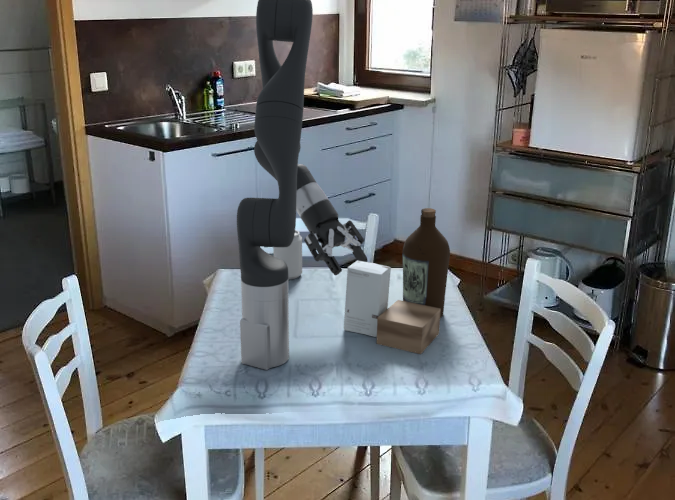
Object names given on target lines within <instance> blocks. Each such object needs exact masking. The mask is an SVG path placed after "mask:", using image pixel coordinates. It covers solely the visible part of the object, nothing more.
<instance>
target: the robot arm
mask: <svg viewBox="0 0 675 500" xmlns="http://www.w3.org/2000/svg"><path fill="white" fill-rule="evenodd" d="M255 12H256V14H255V17H256V18H255V19H256V20H255V25H256V27H255V28H256V38H257V49H258V59H259V60H258V61H259V66H260V74H261V75H260V76H261V82H262V83H261V84H262V89H261V91H260V93H259V94H258V96H257V98H256V99H257V100H256V103H255V104H256V105H255V115H254V124H253V125H254V127H253V129H254V130H253V131H254V135H255V139H256V142H255V143H254V147H253V153H254V156H255V159H256V160H257V162H258V164H259V165H260V166H261V167H262V168H263V170H265V171H266V172H267V173H268V174H269V175H270V176H271V177H272V178H273V179H275V180H276V181H277V187H278V198H269V197H244V198H242V200H240V202H239V204H238V206H237V210H236V232H237V241H238V252H239V253H238V254H239V257H238V258H239V269H240V287H241V288H240V289H241V290H240V294H241V319H240V320H239V328H240V329H239V332H240V358H241V359H240V361H241V364H243V365H247V366H251V367H255V368H258V369H261V370H265V371H268V370H269V369H271V368H274V367H275V368H276V367H278V366H282V365H284V364H285V363H287V362H288V361H289V360H290V325H289V324H290V317H289V316H290V315H289V314H290V313H289V312H290V311H289V310H290V309H289V307H290V305H289V303H290V302H289V279H288V266H287V264H286V263H285V262H284V261H282V260H281V259H279V258H276V257H274V255H272V254H269V253H268V252H266V251H265V250H264V249H263V248H262V247H264V248H273V247H288V246H290V245H291V243H292V241H293V239H294V235H295V230H296V227H297V226H296V225H297V215H299V218H300V219H301V221H302V222H303V224H304V226H305V227H306V229H307V231H308V232H309V233H308V234H307V235H306V237H304V240H303V241H304V243H305V245H306V247H307V248H308V250H309V253H311V256H312V257H313V260H315V262H320V261H322V262H324V263H325V264H326V266H327V267H328V268H329V270H330V272H331V273H332V274H333V275H334V276H337V275H339V274H341V272H342V271H343V269H342V267H341V265H340V264H339V262H338V260H337V259H336V257H335V256H333V249H334V248H336V247H337V248H338V247H342V248H347V249H348V250H350V251H351V252H352V255H353V256H354V257H355V260H356V261H363V262H368V257H367V254H366V253H365V252H364V250H363V248H362V244H363V243H364V242H365V238H364V237H363V235H362V234H361V233H360V231H359V230H358V228H357V226H356V225H355V224H354V223H353V220H348V221H346V223H341V221H340V220H339V213H338V212H337V209H335V207H334V206H333V204H332V202H331V201H330V199H329V197H328V195H326V193H325V191H324V190H323V189H322V187H321V186H320V185H319V184H318V182H317V180H316V179H315V178H314V176H313V174H312V173H311V171H310V169H309V168H308V167H307V166H306V165H305V164H302V163H299V157H300V155H299V154H300V152H301V148H302V147H301V137H302V130H303V119H304V117H303V116H304V103H305V80H306V69H307V61H308V54H309V47H310V41H311V34H312V33H311V32H312V27H313V14H314V11H313V3H312V0H257V5H256V11H255ZM274 41H275V42H286V43H292V45H291V47H290V48H291V49H290V50H289V52H288V54H287V56H286V59H285V60H284V62H283V63H282V65H281V62H280V60H279V59H278V57H277V54H276V51H275V48H274V47H275V46H274Z"/></svg>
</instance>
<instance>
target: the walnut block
mask: <svg viewBox="0 0 675 500" xmlns="http://www.w3.org/2000/svg"><path fill="white" fill-rule="evenodd" d="M440 312H441V309H440V308H436V307H431V306H426V305H421V304H416V303H411V302H406V301H403V300H402V299H397V300H395V302H394V303H392V304H391V305H390V306H389V307H388V308H387V310H386V311H385V312H384V313H382V314H381V315H380V316H379V317H378V318H377V337H376V344H377V345H380V346H385V347H389V348H392V349H397V350H402V351H405V352H410V353H413V354H418V355H422V353H424V352H425V350H427V348H428V347H429V346H430V345H431V344H432V343H433V341H434V340H435V339H436V338H437V337H438V336H439V335H440V325H441V318H440Z"/></svg>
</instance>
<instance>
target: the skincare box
mask: <svg viewBox="0 0 675 500" xmlns="http://www.w3.org/2000/svg"><path fill="white" fill-rule="evenodd" d="M391 269H392V267H390V266H387V265H383V264H378V263H374V262H368V261H367V262H363V261H357V260H355V262H353V263H352V264H351V265H348V266H347V271H346V272H347V273H346V285H345V286H346V288H345V303H344V305H345V306H344V319H343V330H344V331H345V332H352V333H357V334H362V335H367V336H370V337H374V338H377V318H378V317H379V316H380V315H381V314H382V313H384V312H385V311H386V310H387V309H388V308H389V307H388V306H389V294H390V283H391V282H390V281H391Z"/></svg>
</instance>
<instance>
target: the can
mask: <svg viewBox="0 0 675 500" xmlns="http://www.w3.org/2000/svg"><path fill="white" fill-rule="evenodd" d="M272 248H273V251H272V252H273V256H274V257H276V258H279V259H281V260H282V261H284V262H285V263H286V264H287V266H288V280H294V279H298V278H299V277H300V276H301V275H302V274H303V236H302V235H300V231H299V230H298V229H295V235H294V239H293V241H292V243H291V245H290V246H288V247H272Z"/></svg>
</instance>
